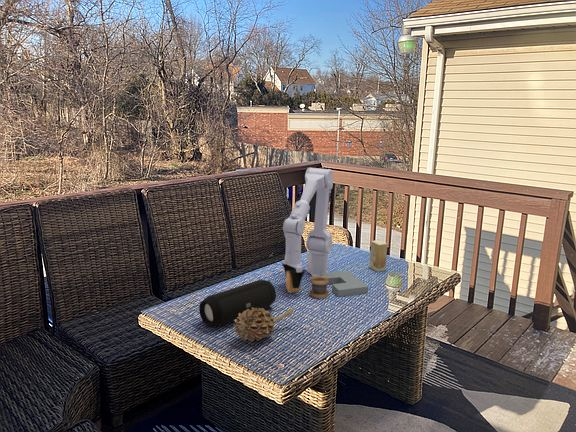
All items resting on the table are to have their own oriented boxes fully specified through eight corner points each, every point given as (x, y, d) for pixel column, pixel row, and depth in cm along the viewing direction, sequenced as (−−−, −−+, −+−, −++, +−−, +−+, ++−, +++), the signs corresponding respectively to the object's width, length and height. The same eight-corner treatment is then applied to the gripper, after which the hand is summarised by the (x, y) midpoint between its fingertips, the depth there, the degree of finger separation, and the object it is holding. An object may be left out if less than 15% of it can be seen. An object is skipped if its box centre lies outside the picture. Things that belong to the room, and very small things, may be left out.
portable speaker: (215, 334, 140) (214, 303, 137) (198, 322, 147) (196, 293, 144) (277, 309, 157) (278, 282, 154) (259, 300, 164) (259, 274, 161)
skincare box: (368, 267, 198) (370, 240, 195) (377, 266, 200) (378, 239, 197) (377, 272, 192) (379, 244, 190) (386, 270, 194) (387, 243, 191)
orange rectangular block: (286, 288, 175) (286, 271, 173) (296, 287, 176) (296, 270, 174) (289, 292, 171) (289, 274, 169) (299, 291, 172) (299, 273, 171)
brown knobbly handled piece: (247, 354, 128) (247, 321, 126) (227, 341, 135) (226, 310, 133) (302, 328, 143) (302, 299, 141) (281, 318, 150) (281, 290, 148)
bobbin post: (307, 291, 172) (307, 276, 170) (324, 289, 174) (324, 274, 172) (313, 299, 165) (314, 283, 164) (331, 296, 167) (332, 281, 166)
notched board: (320, 279, 184) (320, 273, 184) (347, 276, 188) (347, 270, 187) (338, 296, 167) (338, 290, 167) (367, 292, 171) (368, 286, 170)
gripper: (277, 245, 175) (277, 278, 178) (289, 256, 162) (288, 292, 165) (294, 243, 177) (294, 276, 181) (307, 254, 164) (306, 290, 167)
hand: (292, 284), depth 173 cm, fingers open, 7 cm apart
